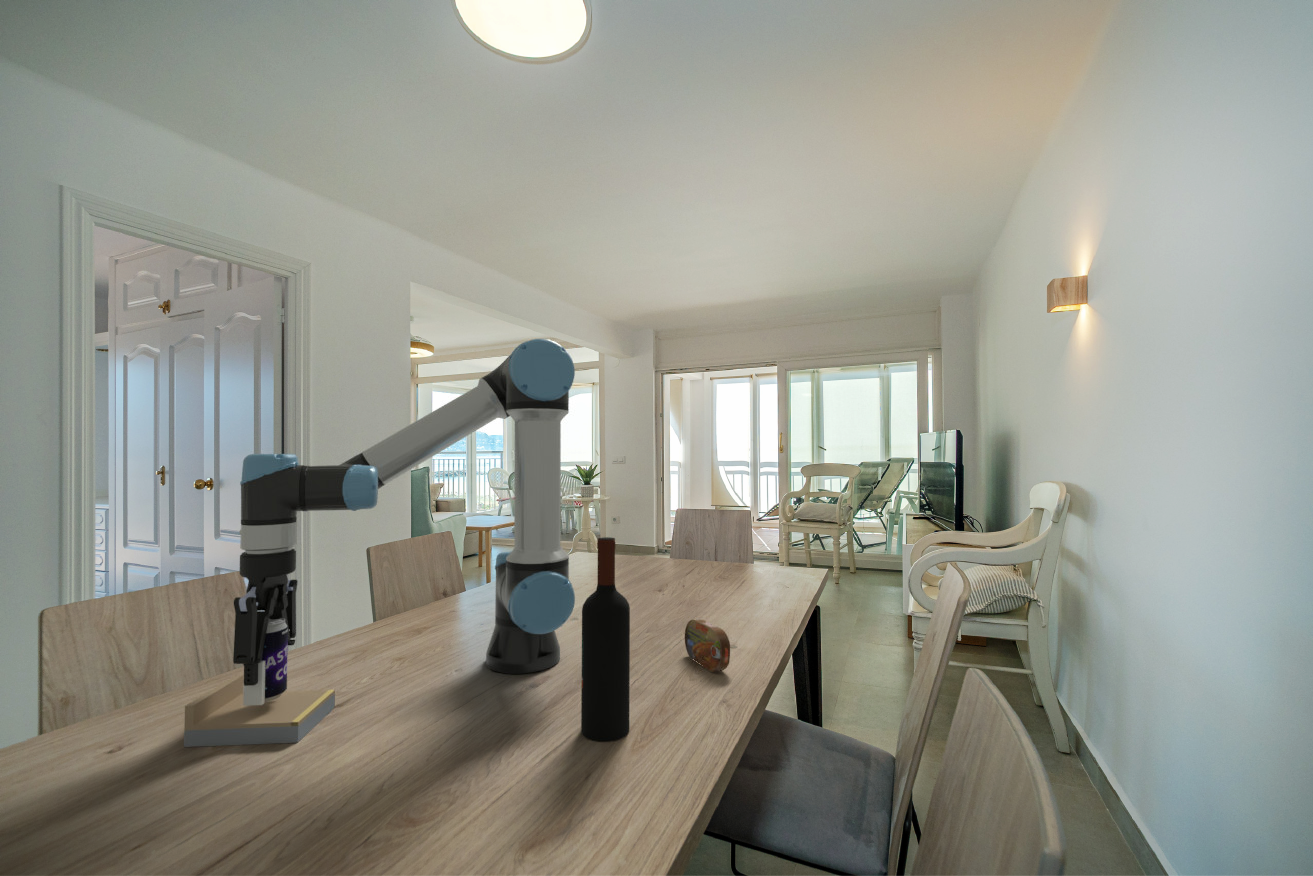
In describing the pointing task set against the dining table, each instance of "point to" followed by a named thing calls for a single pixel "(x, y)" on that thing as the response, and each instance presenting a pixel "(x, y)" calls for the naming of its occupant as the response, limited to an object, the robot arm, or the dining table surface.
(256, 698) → the robot arm
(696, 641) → the tin
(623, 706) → the wine bottle
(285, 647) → the beverage can
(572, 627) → the dining table surface
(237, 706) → the dock
